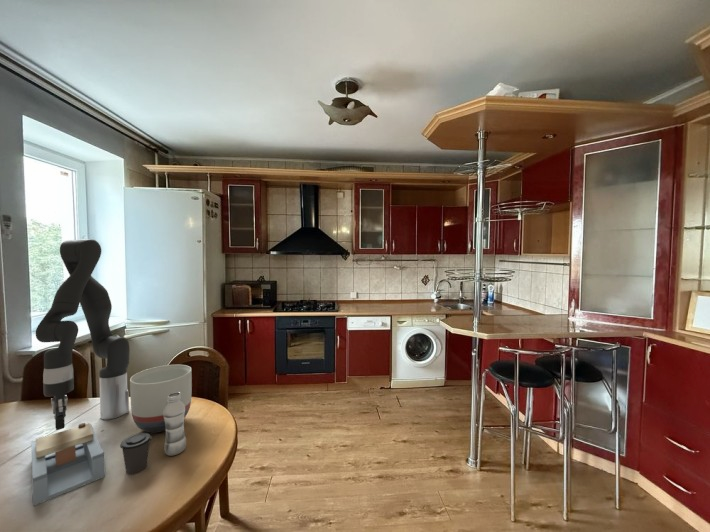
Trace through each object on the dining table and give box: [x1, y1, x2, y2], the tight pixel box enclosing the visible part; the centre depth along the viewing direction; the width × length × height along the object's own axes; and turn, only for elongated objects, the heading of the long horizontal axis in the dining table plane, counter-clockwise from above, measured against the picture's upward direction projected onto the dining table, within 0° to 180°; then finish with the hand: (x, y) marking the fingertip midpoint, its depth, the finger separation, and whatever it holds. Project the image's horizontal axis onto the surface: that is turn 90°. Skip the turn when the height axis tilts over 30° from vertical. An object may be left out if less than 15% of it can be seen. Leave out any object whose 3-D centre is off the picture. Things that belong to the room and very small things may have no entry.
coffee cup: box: [119, 432, 152, 476], centre depth 97 cm, size 8×8×10 cm
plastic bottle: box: [163, 392, 187, 457], centre depth 105 cm, size 6×7×20 cm
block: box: [55, 446, 76, 466], centre depth 100 cm, size 4×4×5 cm
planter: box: [129, 364, 193, 434], centre depth 120 cm, size 20×20×21 cm
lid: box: [35, 422, 94, 458], centre depth 100 cm, size 13×10×3 cm
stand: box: [30, 423, 106, 506], centre depth 97 cm, size 15×27×7 cm, turn 47°
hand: (60, 428), depth 106 cm, fingers closed
